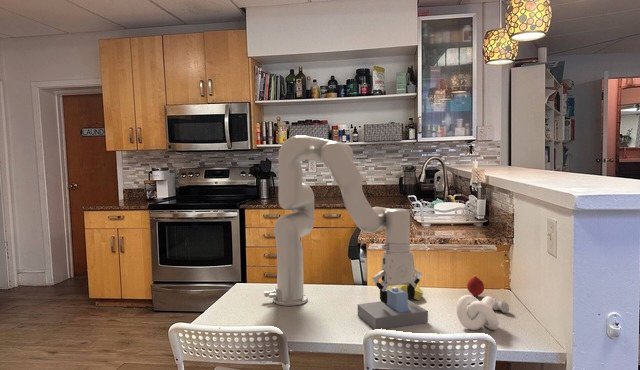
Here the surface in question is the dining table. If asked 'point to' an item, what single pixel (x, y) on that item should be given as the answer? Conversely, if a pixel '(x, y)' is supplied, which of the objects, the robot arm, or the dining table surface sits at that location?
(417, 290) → the plastic component
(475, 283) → the onion
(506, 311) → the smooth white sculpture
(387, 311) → the grey flat block
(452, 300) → the dining table surface
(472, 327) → the white knot
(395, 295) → the block
